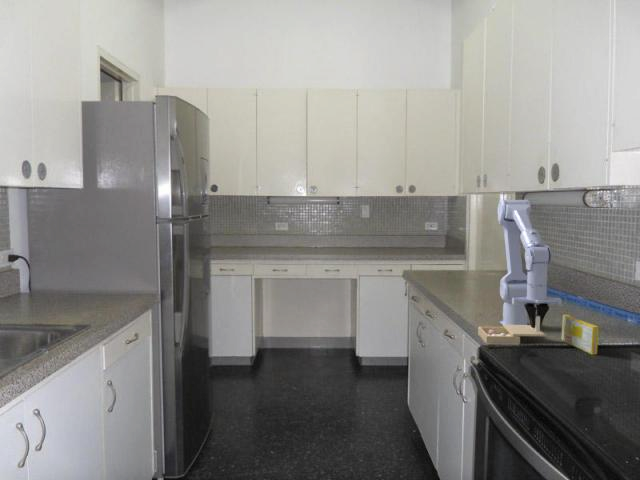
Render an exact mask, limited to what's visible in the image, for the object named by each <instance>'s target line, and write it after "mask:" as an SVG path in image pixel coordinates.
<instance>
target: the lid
mask: <svg viewBox="0 0 640 480" xmlns="http://www.w3.org/2000/svg"><path fill="white" fill-rule="evenodd" d="M502 327H504V328H505V329H506V330H507V331H508V332H509V333H510V334H511V335H512V336H520V337H546V334H545V333H544V331H542V330H541V328H540V316H539V315H537V313H536V315H535V328H532V327H531V324H527V325H502Z"/></svg>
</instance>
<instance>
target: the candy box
mask: <svg viewBox="0 0 640 480" xmlns="http://www.w3.org/2000/svg"><path fill="white" fill-rule="evenodd" d="M561 326H562V327H561V339H562V340H561V341H563V340H564V341H563V342H565V341H566V342H565V343H567V344H569V345H571V346H572V347H575V348H577V349H579V350H582V352H586V353H587V354H590V355H591V356H594V355H595V356H596V355H598V346H599V334H600V333H599V332H600V329H599V326H597V325H595V324H592V323H590V322H587V321H584V320H582V319H579V318H577V317H574V316H572V315H569V314H562V323H561Z"/></svg>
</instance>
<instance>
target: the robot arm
mask: <svg viewBox="0 0 640 480" xmlns="http://www.w3.org/2000/svg"><path fill="white" fill-rule="evenodd" d="M531 212H532V204H531V202H530V201H529V200H528V199H500V200H499V202H498V205H497V220H498V225H499V226H501V227H502V228H503V235H504V242H505V243H504V244H505V245H504V246H505V247H504V248H505V255H506V256H505V257H506V267H507V273H506V274H505V275H504V276H503V277H502V278H500V281H499V282H500V283H499V284H500V285H499V294H500V297H501V299H502V301H504V303H503V305H502V320H501V321H500V320H499V323H500V324H501V325H502V326H503V325H528V324H527V323H528V319H527V318H529V323H530V324H529V325H531V327H532V328H535V315H536V314H537V315H539V316H540V329H541V328H542V325H543V320H544V319H545V317H546V314H547V313H548V311H549V309H550V306H551V305H553V306H554V305H555V306H556V305H557V306H562V298H560V297H548V296H547V292H548V290H547V287H548V286H547V285H548V265H549V264H550V263H551V262H552V261H551V260H552V251H551V248H550V246H549V245H547V244H546V243H544V242H543V240H542V238H541V236H540V233H539V231H538V230H537V229H535V228H534V227H533V225H532V222H531V219H530V214H531ZM519 231H520V232H521V233H520V232H519ZM520 241H521V242H520ZM520 243H522V246H523V248H524V250H525V251H524V260H525V269H526V270H527V274H525V273H524V271H523V262H522V261H523V260H522V253H521V252H522V251H521V244H520ZM549 305H550V306H549Z"/></svg>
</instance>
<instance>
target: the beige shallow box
mask: <svg viewBox="0 0 640 480" xmlns="http://www.w3.org/2000/svg"><path fill="white" fill-rule="evenodd" d="M477 331H478V332H477V335H478V336H479V337H480V339H482V342H484V344H485V345H488V346H489V345H491V346H492V345H493V346H494V345H495V346H521V336H512V335H511V334H510V333H509V332H508V331H507V330H506V329H505V328H504V327H503V326H478V329H477Z"/></svg>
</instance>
